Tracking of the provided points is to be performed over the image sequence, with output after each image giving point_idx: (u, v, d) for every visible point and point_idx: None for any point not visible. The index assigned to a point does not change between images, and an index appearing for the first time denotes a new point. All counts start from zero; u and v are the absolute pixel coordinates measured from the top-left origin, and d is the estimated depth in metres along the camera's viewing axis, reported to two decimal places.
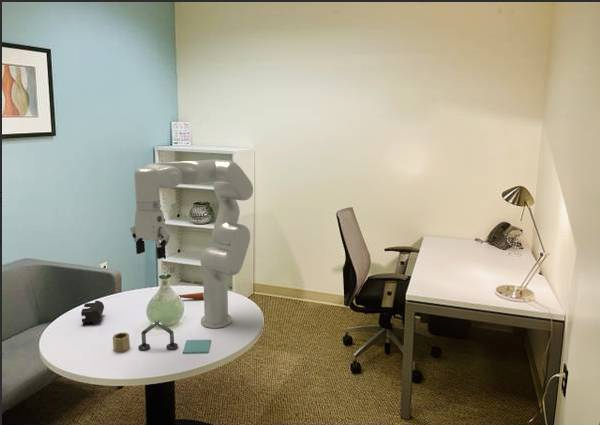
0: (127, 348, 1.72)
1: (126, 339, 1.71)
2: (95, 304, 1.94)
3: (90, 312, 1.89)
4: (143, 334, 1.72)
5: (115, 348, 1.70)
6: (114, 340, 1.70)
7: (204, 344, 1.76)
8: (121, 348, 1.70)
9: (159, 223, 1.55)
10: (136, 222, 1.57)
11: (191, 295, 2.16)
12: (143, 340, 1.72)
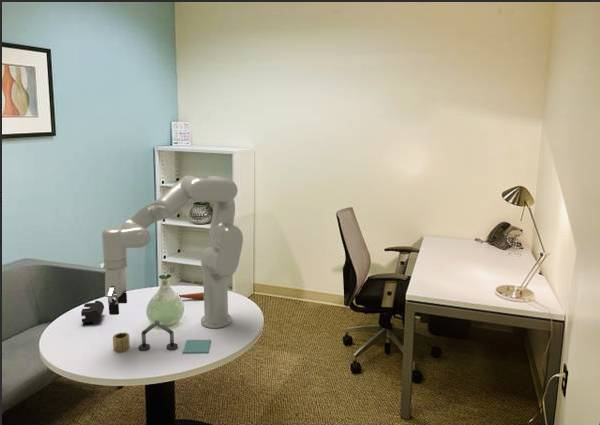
0: (127, 348, 1.72)
1: (126, 339, 1.71)
2: (95, 304, 1.94)
3: (90, 312, 1.89)
4: (143, 334, 1.72)
5: (115, 348, 1.70)
6: (114, 340, 1.70)
7: (204, 344, 1.76)
8: (121, 348, 1.70)
9: None
10: (120, 282, 1.64)
11: (191, 295, 2.16)
12: (143, 340, 1.72)
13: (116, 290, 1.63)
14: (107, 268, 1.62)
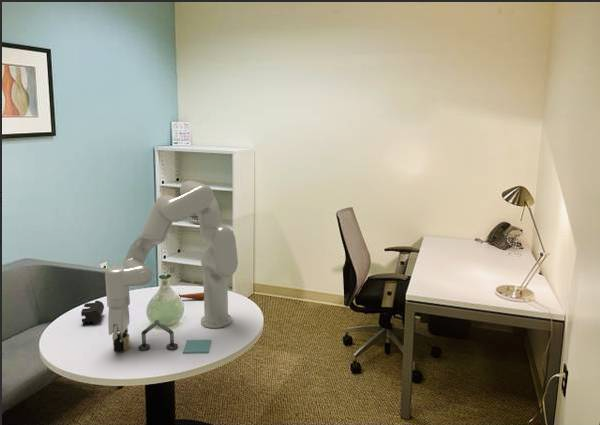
0: (127, 348, 1.72)
1: (126, 339, 1.71)
2: (95, 304, 1.94)
3: (90, 312, 1.89)
4: (143, 334, 1.72)
5: None
6: None
7: (204, 344, 1.76)
8: None
9: None
10: (122, 320, 1.67)
11: (192, 295, 2.16)
12: (143, 340, 1.72)
13: (119, 328, 1.66)
14: (110, 307, 1.66)
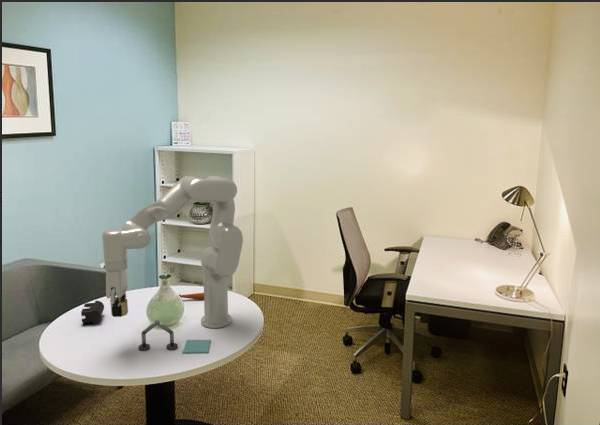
0: (125, 313, 1.69)
1: (124, 304, 1.68)
2: (95, 304, 1.94)
3: (90, 312, 1.89)
4: (143, 334, 1.72)
5: None
6: None
7: (204, 344, 1.76)
8: None
9: None
10: (120, 283, 1.64)
11: (192, 295, 2.16)
12: (143, 340, 1.72)
13: (117, 291, 1.63)
14: (108, 269, 1.63)
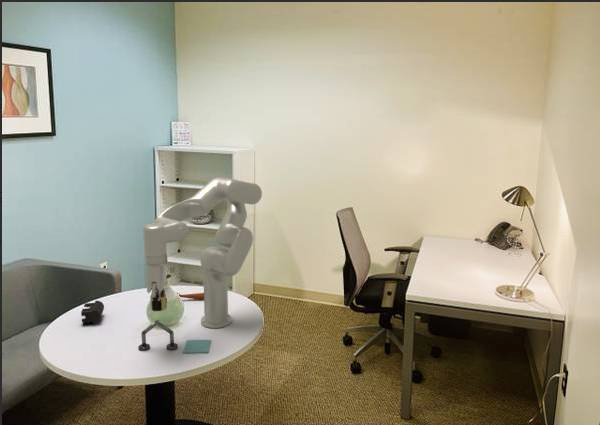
0: (164, 307, 1.69)
1: (164, 298, 1.68)
2: (95, 304, 1.94)
3: (90, 312, 1.89)
4: (143, 334, 1.72)
5: None
6: None
7: (204, 344, 1.76)
8: None
9: None
10: (161, 277, 1.64)
11: (192, 295, 2.16)
12: (143, 340, 1.72)
13: (158, 286, 1.63)
14: (148, 264, 1.63)
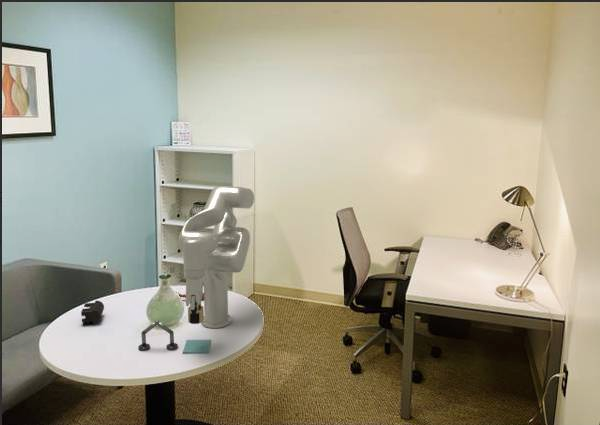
0: (202, 320, 1.71)
1: (201, 311, 1.70)
2: (95, 304, 1.94)
3: (90, 312, 1.89)
4: (143, 334, 1.72)
5: None
6: None
7: (204, 344, 1.76)
8: None
9: None
10: (200, 290, 1.66)
11: None
12: (143, 340, 1.72)
13: (197, 299, 1.65)
14: (188, 277, 1.65)
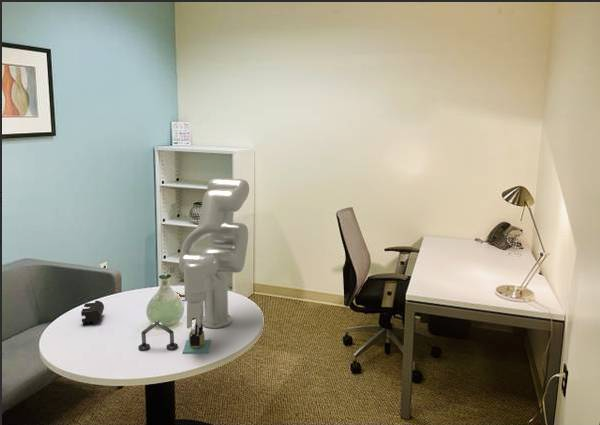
0: (203, 345, 1.74)
1: (202, 336, 1.73)
2: (95, 304, 1.94)
3: (90, 312, 1.89)
4: (143, 334, 1.72)
5: None
6: None
7: None
8: None
9: None
10: (200, 313, 1.68)
11: None
12: (143, 340, 1.72)
13: (197, 322, 1.67)
14: (189, 301, 1.67)
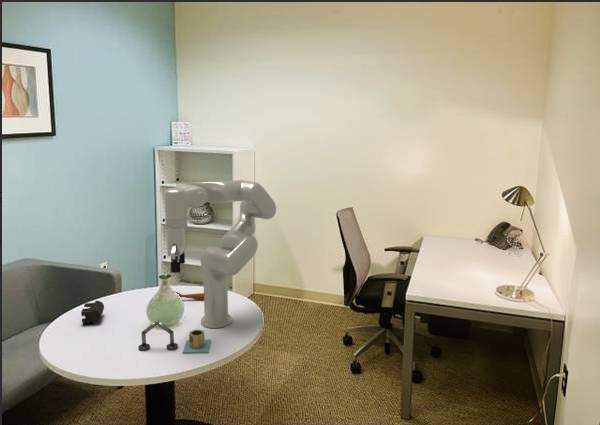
0: (203, 345, 1.74)
1: (202, 336, 1.73)
2: (95, 304, 1.94)
3: (90, 312, 1.89)
4: (143, 334, 1.72)
5: (191, 345, 1.72)
6: (191, 337, 1.72)
7: None
8: (197, 345, 1.72)
9: None
10: (181, 240, 1.69)
11: (193, 295, 2.16)
12: (143, 340, 1.72)
13: (178, 248, 1.68)
14: (169, 227, 1.68)
